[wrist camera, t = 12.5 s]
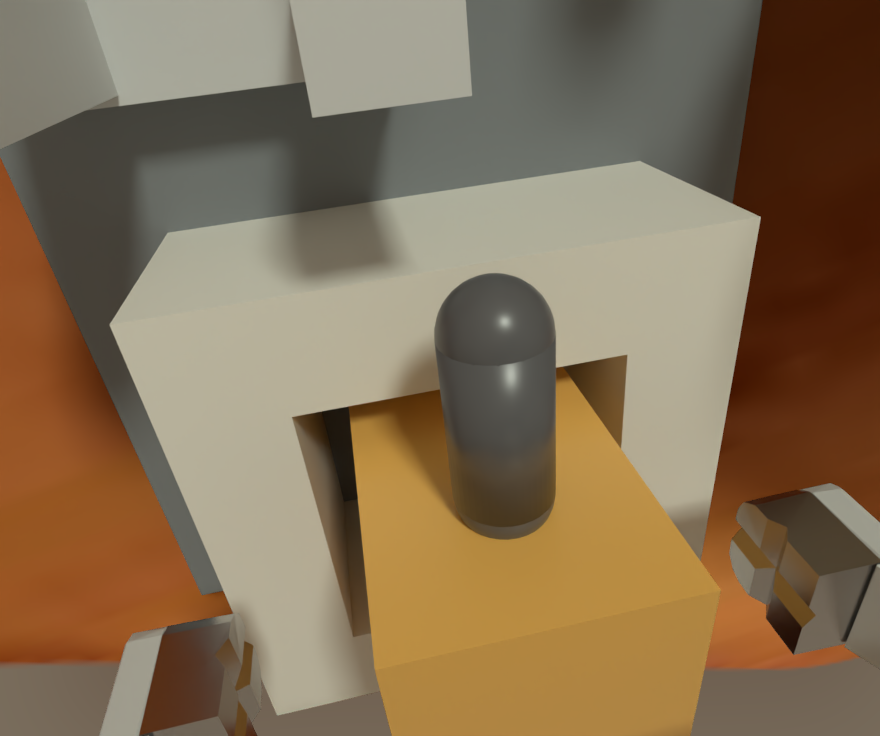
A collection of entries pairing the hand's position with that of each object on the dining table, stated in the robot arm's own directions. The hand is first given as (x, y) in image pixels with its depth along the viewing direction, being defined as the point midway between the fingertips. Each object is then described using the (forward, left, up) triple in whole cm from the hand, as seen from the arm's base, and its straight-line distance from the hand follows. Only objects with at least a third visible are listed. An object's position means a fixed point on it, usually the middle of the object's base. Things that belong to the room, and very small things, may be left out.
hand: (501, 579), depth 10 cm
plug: (0, -2, -6) cm, 6 cm away
